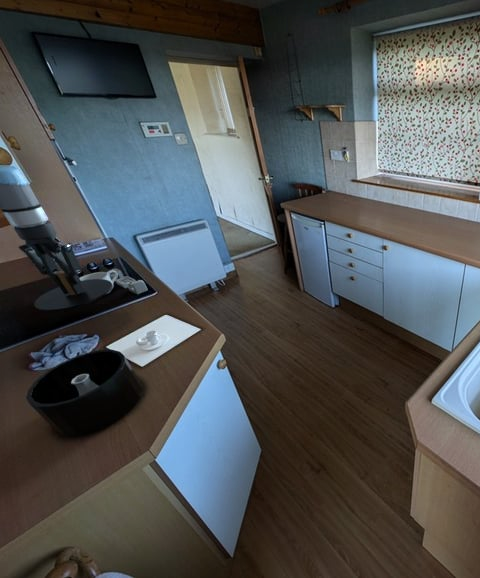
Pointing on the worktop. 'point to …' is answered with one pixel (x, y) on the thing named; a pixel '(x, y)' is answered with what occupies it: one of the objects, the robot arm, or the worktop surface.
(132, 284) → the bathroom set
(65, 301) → the lid
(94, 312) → the worktop surface
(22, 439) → the worktop surface
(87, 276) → the teacup
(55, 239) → the robot arm
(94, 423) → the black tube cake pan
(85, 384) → the flask
